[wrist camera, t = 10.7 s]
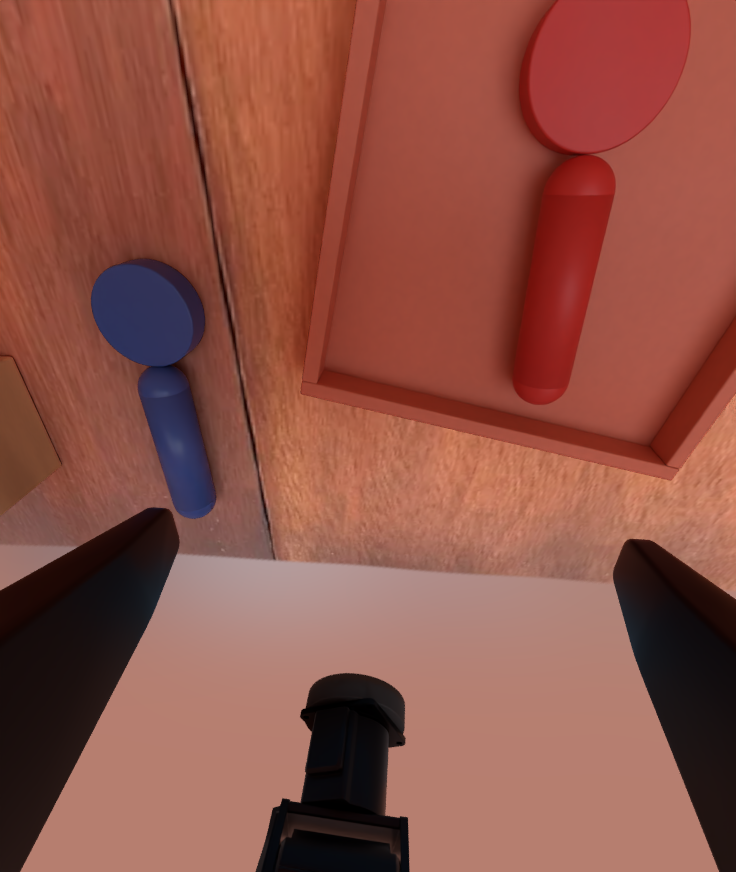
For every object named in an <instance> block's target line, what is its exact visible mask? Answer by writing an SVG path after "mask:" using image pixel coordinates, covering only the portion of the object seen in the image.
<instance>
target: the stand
mask: <svg viewBox="0 0 736 872" xmlns="http://www.w3.org/2000/svg"><path fill="white" fill-rule="evenodd" d="M59 467H61V462H60V460H59V458H58V456H57V454H56V451H55V449H54V447H53V445H52V443H51V440H50V438H49V436H48V434H47V432H46V430H45V427H44V425H43V423H42V421H41V419H40V416H39V414H38V412H37V410H36V408H35V405H34V403H33V401H32V399H31V397H30V394H29V392H28V390H27V388H26V386H25V383H24V381H23V379H22V377H21V375H20V372H19V370H18V368H17V366H16V364H15V361H14V359H13V358H12V357H7V356H0V516H1V515H2V514H4V513H5V512H6V511H7V510H8V509H10V508H11V507H12V506H13V505H14V504H16V503H17V502H18V501H19V500H21V499H22V498H23V497H24V496H25V495H27V494H28V493H29V492H30V491H31V490H33V489H34V488H35V487H36V486H38V485H39V484H40V483H41V482H42V481H44V480H45V479H46V478H47V477H49V476H50V475H51V474H52V473H53V472H55V471H56V470H57V469H58V468H59Z"/></svg>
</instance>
